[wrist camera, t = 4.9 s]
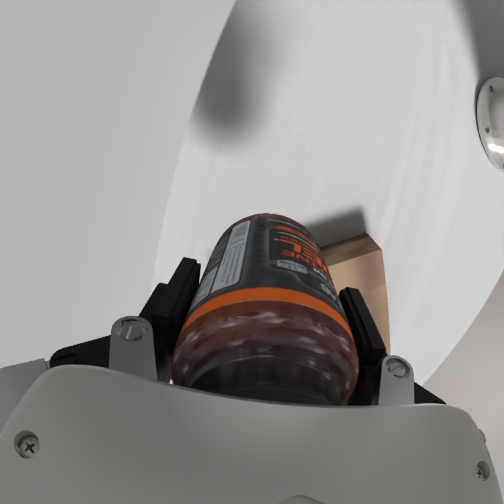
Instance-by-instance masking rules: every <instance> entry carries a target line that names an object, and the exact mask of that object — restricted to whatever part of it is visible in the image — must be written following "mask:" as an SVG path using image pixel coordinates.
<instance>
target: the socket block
mask: <svg viewBox="0 0 504 504" xmlns="http://www.w3.org/2000/svg"><path fill="white" fill-rule="evenodd" d="M320 250H321V253H322V255H323V258H324V260H325V262H326V265H327V267H328V270H329V273H330V276H331V278H332V281H333V284H334V287H335V289H336V291H337V294H338V295H339V292H340V290H341V289H344V288H345V287H351V288H357V289H359V291H360V293H361V295H362V297H363V299H364V301H365V303H366V305H367V307H368V309H369V312H370V314H371V316H372V318H373V320H374V322H375V324H376V327H377V329H378V331H379V333H380V335H381V338H382V340H383V342H384V345H385V347H386V352H387V355H388V356H389V355H390V333H389V315H388V302H387V291H386V281H385V272H384V264H383V256H382V249H381V248H380V247H379V246H378V245H377V244H376V243H375V241H374V240H373V239H372V238H371V237H370V236H369V235H368V234H364V235H361V236H357V237H354V238H351V239H348V240H345V241H342V242H339V243H336V244H333V245H329V246H326V247H323V248H320Z"/></svg>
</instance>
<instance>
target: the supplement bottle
mask: <svg viewBox="0 0 504 504" xmlns="http://www.w3.org/2000/svg"><path fill="white" fill-rule="evenodd" d="M358 373H359V360H358V355H357V349H356V346H355V343H354V340H353V337H352V334H351V330H350V327H349V324H348V320H347V318H346V316H345V312H344V310H343V307H342V304H341V301H340V299H339V296H338V294H337V291H336V289H335V287H334V284H333V281H332V278H331V276H330V273H329V270H328V267H327V265H326V262H325V260H324V258H323V255H322V253H321V250H320V248H319V246H318V244H317V242H316V241H315V239H314V238H313V236H312V235H311V233H310V232H309V231H308V230H307V229H306V228H305V227H304V226H303V225H301V224H299V223H298V222H296V221H294V220H292V219H290V218H288V217H285V216H281V215H277V214H269V213H263V214H255V215H252V216H249V217H246V218H243V219H241V220H239V221H238V222H236V223H234V224H233V225H231V226H230V227H229V228H228V229H227V230H226V231H225V232H224V233H223V235H222V236H221V238H220V239H219V241H218V243H217V245H216V246H215V248H214V250H213V253H212V255H211V257H210V260H209V262H208V264H207V267H206V269H205V272H204V274H203V276H202V279H201V281H200V284H199V286H198V289H197V291H196V293H195V296H194V298H193V301H192V303H191V306H190V308H189V311H188V313H187V315H186V318H185V320H184V323H183V325H182V329H181V331H180V333H179V336H178V339H177V341H176V344H175V347H174V350H173V354H172V359H171V380H172V382H173V384H174V385H178V386H182V387H187V388H192V389H196V390H201V391H206V392H212V393H217V394H223V395H229V396H235V397H242V398H249V399H257V400H265V401H274V402H284V403H296V404H311V405H335V406H344V405H345V404H346V403H347V401H348V400H349V399H350V397H351V395H352V393H353V391H354V389H355V386H356V382H357V379H358Z"/></svg>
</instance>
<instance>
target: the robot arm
mask: <svg viewBox="0 0 504 504" xmlns="http://www.w3.org/2000/svg"><path fill="white" fill-rule="evenodd" d="M477 120H478V127H479V133H480V137H481V141H482V144H483V146H484V149H485V151H486V153H487V155H488V157H489V159H490V160H491V162H492V163H493V165H494V166H495V167H496V168H497V169H499V170H501V171H502V172H504V78H501V77H493V78H490V79H488V80H487V81H486V82H485V83H484V84H483V86H482V87H481V90H480V93H479V96H478V102H477ZM200 269H201V264H199V263H197V260H196V259H191V258H186V257H184V258H183V259H182V261H181V262H180V264H179V266H178V267H177V269H176V271H175V273H174V274H173V276H172V278H171V279H170V281H169V283H168V284H164V283H159V284H158V285H157V287H156V288H155V290H154V291H153V293H152V295H151V296H150V298H149V300H148V301H147V303H146V304H145V306H144V308H143V309H142V311H141V313H140V315H139V316H126V317H123V318H120V319H119V320H117V321H116V322H115V323H114V324H113V326H112V329H111V335H109V336H105V337H102V338H98V339H95V340H91V341H87V342H84V343H80V344H77V345H73V346H69V347H65V348H62V349H60V350H58V351H56V352H55V353H54V354H53V355H52V357H51V359H50V360H49V361H45V359H44V358H42V359H38V360H34V361H30V362H25V363H21V364H17V365H12V366H7V367H4V368H1V369H0V504H503V500H502V495H501V491H500V487H499V483H498V480H497V476H496V473H495V470H494V466H493V463H492V460H491V458H490V455H489V452H488V449H487V447H486V444H485V441H486V439H485V435H484V434H483V432H482V431H481V430H480V429H478V427H477V425H476V424H475V422H474V420H473V419H472V417H471V416H470V415H469V414H468V413H467V412H466V411H464V410H462V409H460V408H457V407H454V406H450V405H447V404H446V403H445V402H444V401H443V400H441V399H439V398H438V397H437V396H435V395H434V394H432V393H430V392H429V391H427V390H426V389H424V388H423V387H421V386H420V385H418V384H417V383H415V382H414V373H413V369H412V367H411V365H410V364H409V363H408V362H407V361H406V360H405V359H403V358H401V357H399V356H395V355H389V356H388V355H387V352H386V347H385V345H384V342H383V340H382V338H381V335H380V333H379V331H378V329H377V327H376V324H375V322H374V320H373V318H372V316H371V314H370V312H369V309H368V307H367V305H366V303H365V301H364V299H363V297H362V295H361V293H360V291H359V289H357V288H351V287H345V288H344V289H341V290H340V292H339V295H338V296H339V299H340V301H341V304H342V307H343V310H344V312H345V316H346V318H347V320H348V324H349V327H350V330H351V334H352V337H353V340H354V343H355V346H356V349H357V355H358V360H359V373H358V379H357V382H356V386H355V389H354V391H353V393H352V395H351V397H350V399H349V400H348V401H347V403H346V404H345V405H344V406H335V405H311V404H296V403H284V402H274V401H265V400H257V399H249V398H242V397H235V396H229V395H223V394H217V393H212V392H206V391H201V390H196V389H192V388H187V387H182V386H178V385H174V384H169V382H170V379H171V359H172V354H173V350H174V347H175V344H176V341H177V339H178V336H179V333H180V331H181V329H182V325H183V323H184V320H185V318H186V315H187V313H188V311H189V308H190V306H191V303H192V301H193V298H194V296H195V293H196V291H197V289H198V286H199V278H200Z"/></svg>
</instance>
